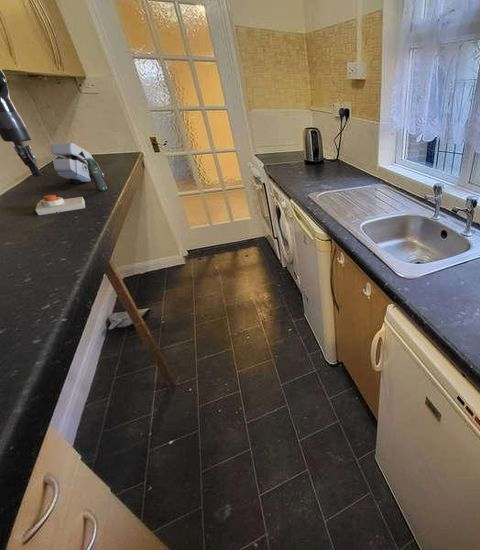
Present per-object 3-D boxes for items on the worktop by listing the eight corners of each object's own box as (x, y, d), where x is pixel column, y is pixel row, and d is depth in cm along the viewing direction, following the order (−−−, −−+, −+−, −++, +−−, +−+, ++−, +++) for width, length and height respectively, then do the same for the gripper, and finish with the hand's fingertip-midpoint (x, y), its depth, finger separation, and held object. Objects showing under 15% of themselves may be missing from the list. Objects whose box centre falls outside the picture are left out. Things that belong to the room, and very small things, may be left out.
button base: (38, 215, 114) (32, 205, 112) (40, 207, 121) (35, 198, 119) (85, 208, 122) (80, 198, 120) (84, 201, 129) (80, 192, 127)
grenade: (102, 192, 142) (87, 159, 134) (95, 191, 142) (80, 158, 135) (111, 189, 145) (97, 157, 138) (104, 189, 146) (89, 156, 138)
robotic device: (105, 192, 166) (103, 157, 167) (73, 177, 145) (71, 138, 146) (84, 193, 164) (83, 158, 165) (49, 178, 143) (47, 138, 144)
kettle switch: (45, 202, 116) (42, 198, 116) (45, 200, 119) (43, 195, 118) (57, 200, 118) (55, 196, 118) (58, 198, 121) (55, 194, 120)
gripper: (-2, 124, 107) (26, 174, 116) (-9, 128, 98) (22, 181, 107) (27, 124, 111) (52, 171, 120) (23, 127, 102) (50, 178, 112)
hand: (38, 176), depth 114 cm, fingers closed
